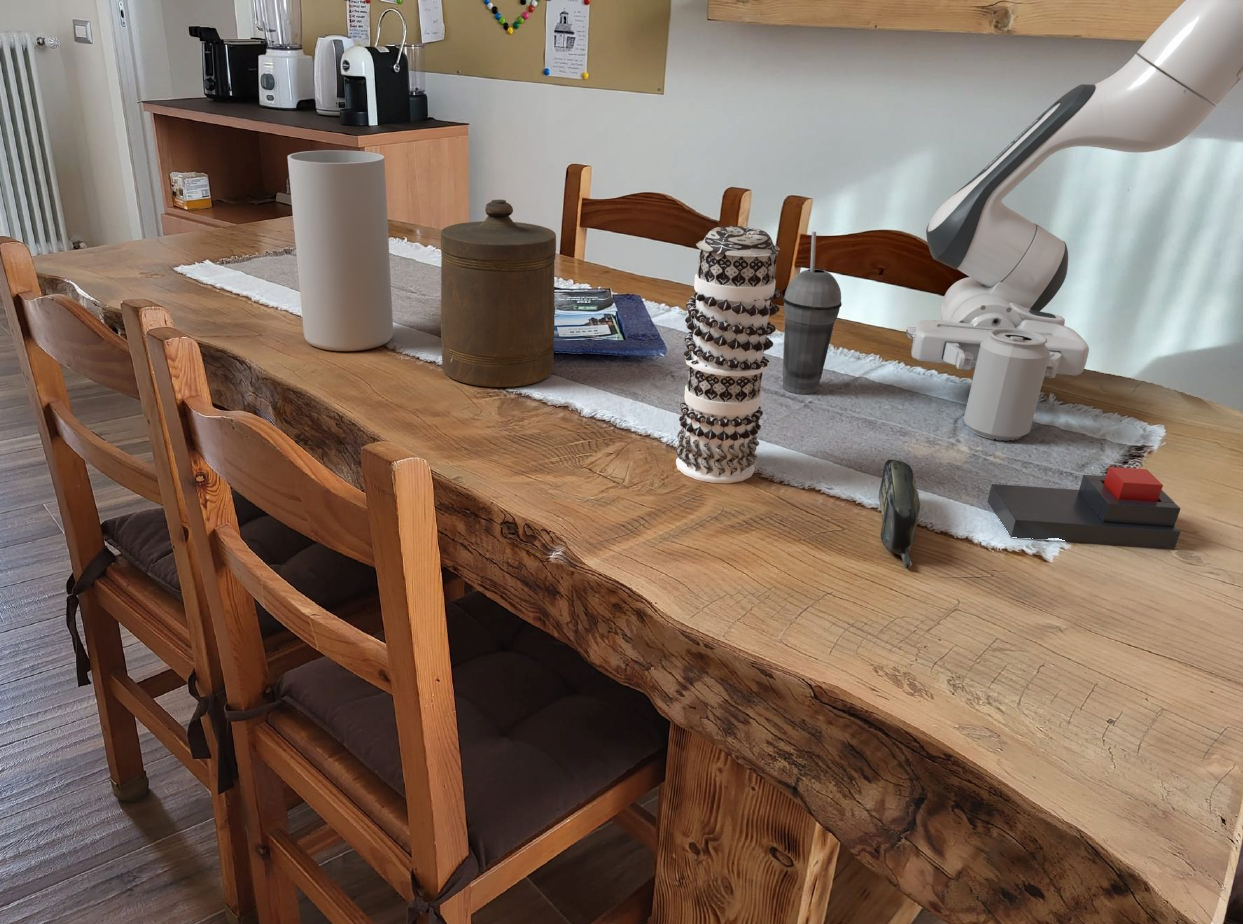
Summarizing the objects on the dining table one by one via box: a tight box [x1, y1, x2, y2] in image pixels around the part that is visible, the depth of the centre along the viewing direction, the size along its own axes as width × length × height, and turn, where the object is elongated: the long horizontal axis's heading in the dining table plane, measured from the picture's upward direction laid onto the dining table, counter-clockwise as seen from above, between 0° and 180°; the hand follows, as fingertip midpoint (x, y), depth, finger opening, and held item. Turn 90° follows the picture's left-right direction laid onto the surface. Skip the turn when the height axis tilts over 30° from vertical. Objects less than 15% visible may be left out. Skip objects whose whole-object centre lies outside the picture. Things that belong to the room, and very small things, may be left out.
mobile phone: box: [878, 459, 921, 570], centre depth 93 cm, size 5×3×15 cm
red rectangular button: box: [1104, 466, 1164, 502], centre depth 95 cm, size 4×4×2 cm
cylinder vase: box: [287, 149, 394, 352], centre depth 137 cm, size 12×12×25 cm
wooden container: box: [440, 199, 557, 388], centre depth 128 cm, size 15×15×22 cm
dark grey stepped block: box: [987, 474, 1181, 551], centre depth 96 cm, size 15×8×4 cm, turn 85°
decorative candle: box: [675, 225, 783, 484], centre depth 101 cm, size 9×9×25 cm
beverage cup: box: [782, 231, 843, 395], centre depth 126 cm, size 7×7×20 cm
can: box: [963, 328, 1050, 442], centre depth 116 cm, size 8×8×12 cm
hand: (1007, 367), depth 116 cm, fingers open, 8 cm apart
